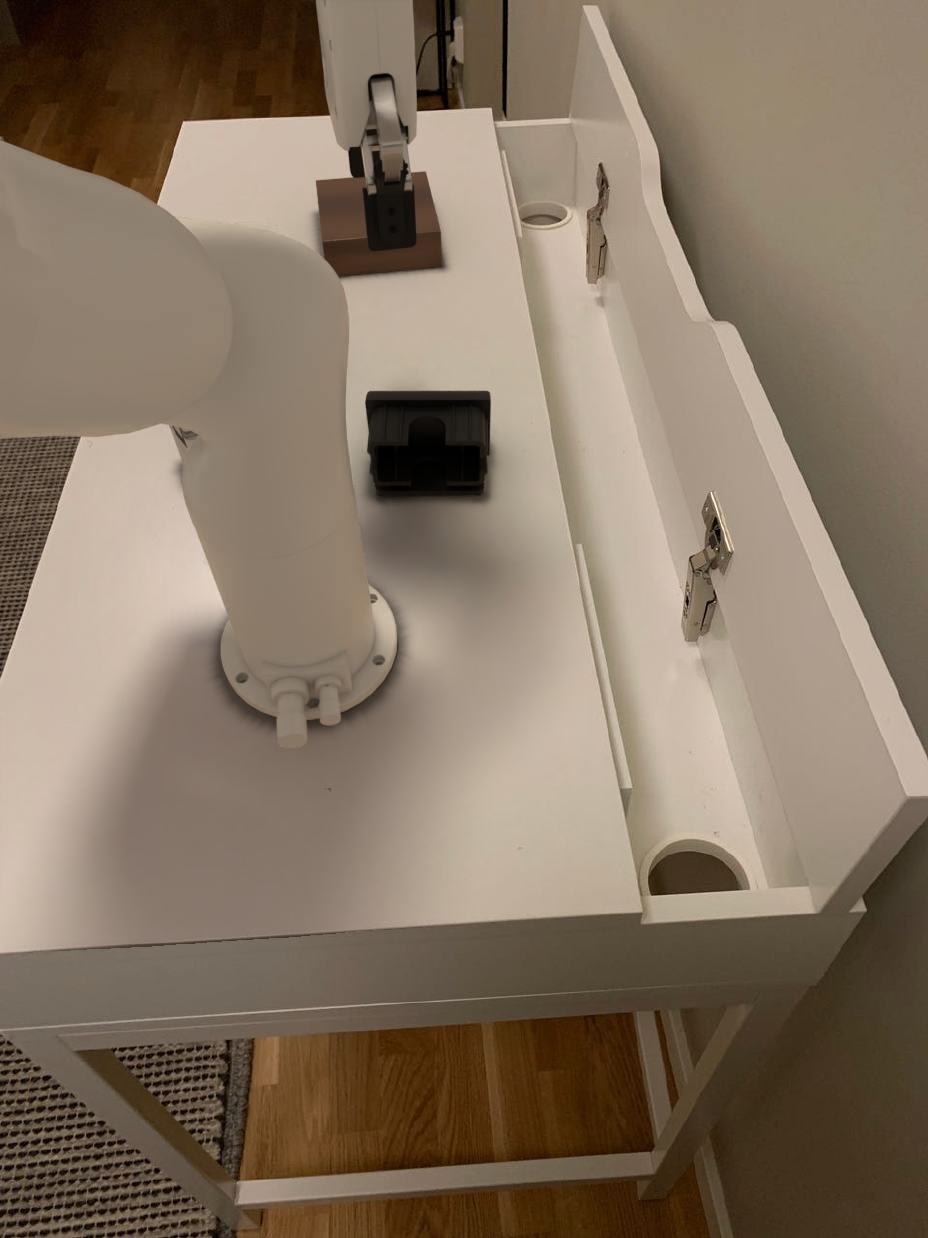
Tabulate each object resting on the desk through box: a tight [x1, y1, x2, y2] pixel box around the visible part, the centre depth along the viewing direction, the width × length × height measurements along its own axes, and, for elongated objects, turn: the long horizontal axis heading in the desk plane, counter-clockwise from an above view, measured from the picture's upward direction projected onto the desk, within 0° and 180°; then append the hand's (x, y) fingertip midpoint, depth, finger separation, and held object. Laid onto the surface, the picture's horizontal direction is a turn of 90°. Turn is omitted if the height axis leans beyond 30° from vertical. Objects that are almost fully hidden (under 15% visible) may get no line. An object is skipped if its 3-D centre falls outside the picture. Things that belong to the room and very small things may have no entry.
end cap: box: [364, 390, 492, 497], centre depth 72 cm, size 10×7×7 cm
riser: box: [315, 171, 443, 277], centre depth 93 cm, size 12×12×4 cm
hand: (382, 208), depth 61 cm, fingers open, 9 cm apart
